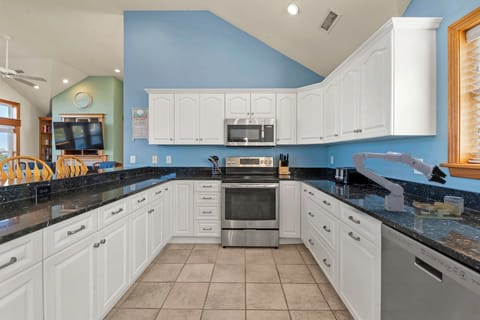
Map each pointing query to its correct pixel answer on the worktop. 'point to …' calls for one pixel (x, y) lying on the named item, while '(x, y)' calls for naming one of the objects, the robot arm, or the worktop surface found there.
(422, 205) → the flat elongated piece
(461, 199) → the medicine box
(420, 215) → the stand
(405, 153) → the robot arm
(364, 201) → the worktop surface
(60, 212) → the worktop surface
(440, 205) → the slider
